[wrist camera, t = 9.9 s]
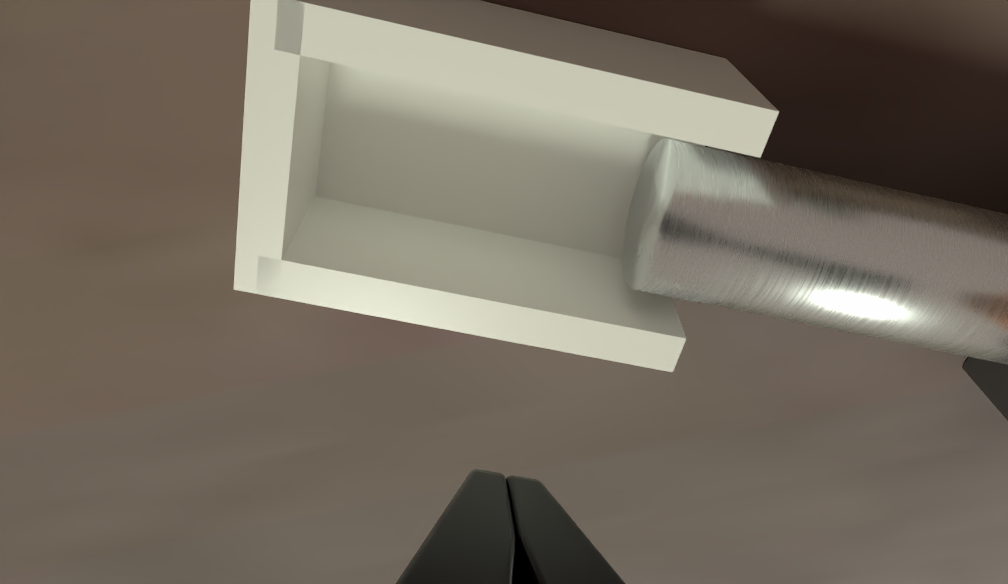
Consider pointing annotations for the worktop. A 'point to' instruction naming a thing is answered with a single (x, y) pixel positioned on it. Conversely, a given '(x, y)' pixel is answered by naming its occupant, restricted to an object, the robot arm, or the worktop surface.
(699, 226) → the tube
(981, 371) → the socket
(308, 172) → the open tray
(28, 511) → the worktop surface
